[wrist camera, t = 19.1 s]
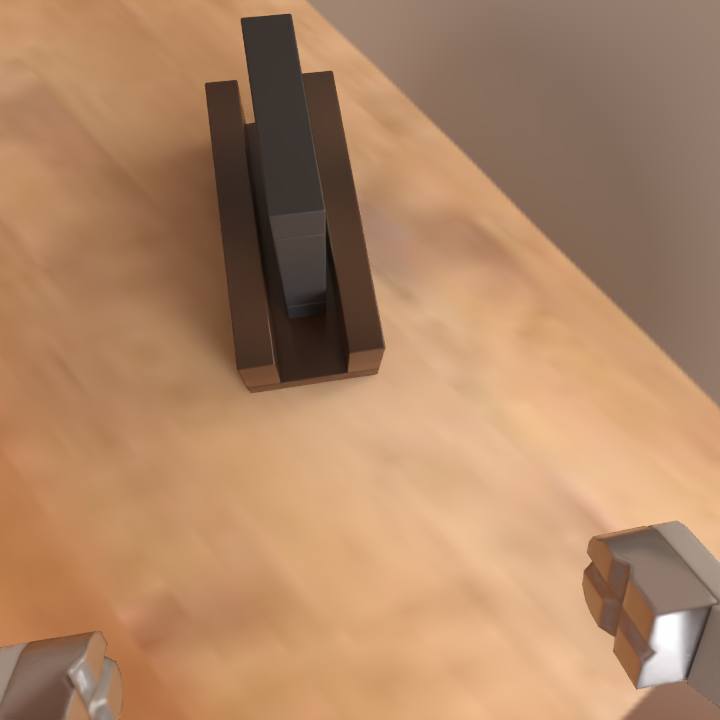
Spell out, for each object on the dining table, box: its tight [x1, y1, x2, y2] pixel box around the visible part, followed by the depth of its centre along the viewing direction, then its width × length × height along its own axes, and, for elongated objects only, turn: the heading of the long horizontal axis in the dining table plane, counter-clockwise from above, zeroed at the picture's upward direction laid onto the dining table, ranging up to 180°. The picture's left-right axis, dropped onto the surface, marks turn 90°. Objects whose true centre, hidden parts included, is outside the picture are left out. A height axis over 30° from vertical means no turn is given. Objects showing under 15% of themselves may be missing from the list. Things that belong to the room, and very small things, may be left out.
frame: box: [241, 14, 326, 319], centre depth 23 cm, size 8×2×9 cm, turn 10°
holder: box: [205, 71, 385, 393], centre depth 26 cm, size 14×6×4 cm, turn 10°
